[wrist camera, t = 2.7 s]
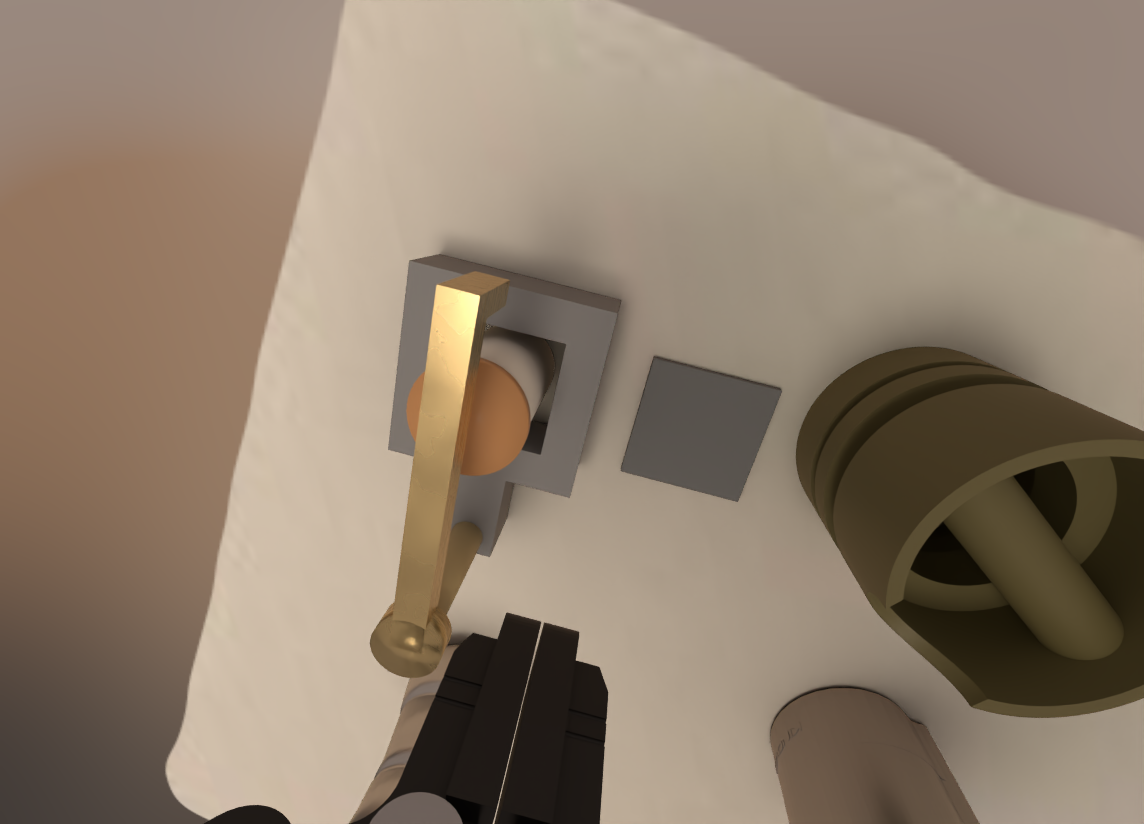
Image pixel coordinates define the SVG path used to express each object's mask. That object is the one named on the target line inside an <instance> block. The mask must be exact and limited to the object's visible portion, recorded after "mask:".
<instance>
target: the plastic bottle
mask: <svg viewBox="0 0 1144 824" xmlns="http://www.w3.org/2000/svg"><path fill="white" fill-rule="evenodd" d="M459 646H460V645H448V646H447V647H446V649H445V651H444V653H443V656H442V658H441V660H440V662H439V664H438V666H437V668H436V669H435V670H434V671H433V672H432V673H430V674H429V675H427V676H424V677H419V678H410V680H409V682H408V685H407V688H406V692H405V695H404V698H403V702H402V706H401V712H400V717H399V719H398V722H397V725H396V727H395V730H394V733H393V736H392V738H391V741H390V744H389V746H388V749H387V752H386V755H385V757H384V759H383V761H382V763H381V765H380V767H379V769H378V771H377V773H376V775H375V778H374V780H373V781H372V783H371V784H370V786H369V788H368V790H367V792H366V794H365V796H364V798H363V800H362V802H361V804H360V806H359V808H358V810H357V811H356V813H355V814H354V816H353V818H352V819H351V821H350V822H349V824H350V823H353V822H356V821H358V820H360V819H362V818H364V817H366V816H367V815H369V814H370V813H372V812H373V811H375V810H376V809H377V808H378V807H380V806H381V805H382V804H383V803H384V802H385V801H386V800H387V799H388V797H389V796H390V795H391V794H392V792H393V791H394V789H395V788H396V786H397V784H398V782H399V780H400V778H401V775H402V773H403V771H404V768H405V766H406V764H407V761H408V759H409V757H410V754H411V752H412V749H413V747H414V745H415V742H416V740H417V738H418V735H419V733H420V730H421V728H422V726H423V723H424V721H425V719H426V716H427V714H428V711H429V709H430V707H431V704H432V702H433V700H434V698H435V695H436V692H437V690H438V688H439V685H440V683H441V681H442V679H443V677H444V673H445V671H446V669H447V666H448V664H449V662H450V659H451V657H452V655H453V652H454V650H455V649H456V648H457V647H459Z"/></svg>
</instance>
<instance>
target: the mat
mask: <svg viewBox="0 0 1144 824" xmlns="http://www.w3.org/2000/svg"><path fill="white" fill-rule="evenodd" d="M781 392H782V390H781V389H779V388H775V387H771V386H767V385H763V384H759V383H756V382H752V381H748V380H744V379H740V378H736V377H732V376H728V375H724V374H720V373H716V372H713V371H709V370H705V369H701V368H697V367H693V366H689V365H685V364H681V363H677V362H673V361H669V360H666V359H662V358H658V357H654V358H653V362H652V365H651V368H650V372H649V375H648V379H647V382H646V385H645V389H644V392H643V395H642V399H641V402H640V406H639V409H638V412H637V416H636V419H635V422H634V426H633V429H632V433H631V436H630V439H629V443H628V446H627V449H626V453H625V456H624V460H623V463H622V466H621V471H622V472H626V473H630V474H634V475H637V476H641V477H645V478H649V479H653V480H656V481H660V482H664V483H668V484H672V485H675V486H679V487H683V488H687V489H691V490H694V491H698V492H702V493H706V494H710V495H713V496H717V497H721V498H725V499H729V500H732V501H736V502H738V500H739V498H740V495H741V493H742V490H743V488H744V485H745V483H746V480H747V478H748V475H749V473H750V470H751V468H752V465H753V463H754V460H755V458H756V455H757V453H758V450H759V448H760V445H761V443H762V440H763V438H764V435H765V433H766V430H767V428H768V425H769V423H770V420H771V418H772V415H773V413H774V410H775V408H776V405H777V402H778V400H779V397H780V395H781Z"/></svg>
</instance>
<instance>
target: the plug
mask: <svg viewBox="0 0 1144 824" xmlns="http://www.w3.org/2000/svg"><path fill="white" fill-rule="evenodd" d="M554 371H555V364H554V358H553V354H552V351H551V349H550V347H549V345H548V343H547V342H546V341H545V339H544V338H540V337H536V336H533V335H529V334H525V333H521V332H517V331H513V330H509V329H505V328H501V327H497V326H493V327H491V328H489V329H488V330H487V331H485V332H484V338H483V344H482V350H481V356H480V361H479V367H478V373H477V379H476V385H475V391H474V397H473V402H472V408H471V414H470V420H469V426H468V432H467V438H466V443H465V449H464V455H463V461H462V467H461V473H460V474H462V475H468V476H481V475H487V474H491V473H494V472H496V471H499V470H501V469H503V468H504V467H506V466H507V465H509V464H510V463H511V462H512V461H513V460H514V459H515V458H516V457H517V456H518V454H519V453H520V451H521V450H522V448H523V446H524V444H525V442H526V439H527V437H528V434H529V430H530V424H531V420H532V419H533V417H534V415H535V413H536V411H537V409H538V407H539V405H540V403H541V402H542V400H543V398H544V396H545V394H546V392H547V390H548V388H549V386H550V384H551V382H552V380H553V376H554ZM424 376H425V372H423V373H422V374H421V375H420V376H419V377H418V379H417V380H416V381H415V383H414V384H413V386H412V388H411V390H410V393H409V396H408V400H407V409H406V413H407V421H408V426H409V429H410V432H411V435H412V437H413V439H414V441H415V442H416V436H417V429H418V421H419V413H420V406H421V398H422V391H423V383H424Z"/></svg>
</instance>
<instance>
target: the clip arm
mask: <svg viewBox="0 0 1144 824" xmlns="http://www.w3.org/2000/svg"><path fill="white" fill-rule="evenodd" d="M509 284H510V280H508V279H504V278H500V277H496V276H492V275H488V274H484V273H481V272H477V271H474V272H471V273H468V274H465V275H462V276H459V277H457V278H454V279H451V280H448V281H445V282H442V283H440V284H437V285H436V293H435V300H434V308H433V315H432V323H431V330H430V338H429V345H428V353H427V361H426V368H425V376H424V383H423V391H422V398H421V406H420V413H419V421H418V429H417V436H416V444H415V451H414V459H413V466H412V474H411V482H410V489H409V497H408V504H407V512H406V519H405V527H404V534H403V542H402V550H401V557H400V565H399V572H398V580H397V587H396V595H395V602H394V603H393V604H391V605H390V607H389V608H388V610H387V611H386V613H385V614H384V616H383V617H382V619H381V620H380V622H379V624H378V625H377V627H376V628H375V630H374V631H373V633H372V635H371V639H370V646H371V651H372V653H373V655H374V657H375V659H376V660H377V661H378V662H379V663H380V664H381V665H382V666H383V667H384V668H385V669H387V670H388V671H390V672H392V673H394V674H396V675H399V676H402V677H407V678H419V677H424V676H427V675H429V674H430V673H432V672H433V671H434V670H435V669H436V668H437V666H438V664H439V662H440V660H441V658H442V656H443V653H444V651H445V649H446V647H447V644H448V642H449V640H450V638H451V633H452V628H451V623H450V621H449V619H448V617H447V615H446V614H445V613H444V612H443V611H442V610H441V609H440V608H439V607H438V602H439V596H440V590H441V584H442V578H443V572H444V566H445V561H446V555H447V549H448V543H449V537H450V531H451V525H452V520H453V514H454V508H455V502H456V496H457V490H458V484H459V479H460V473H461V467H462V461H463V455H464V449H465V443H466V438H467V432H468V426H469V420H470V414H471V408H472V402H473V397H474V391H475V385H476V379H477V373H478V367H479V361H480V356H481V350H482V344H483V338H484V332H485V326H486V320H487V318H488V317H490V316H491V315H493V314H494V313H496V312H497V311H499V310H500V309H501V308H503V307H504V306H506V301H507V295H508V290H509Z"/></svg>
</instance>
